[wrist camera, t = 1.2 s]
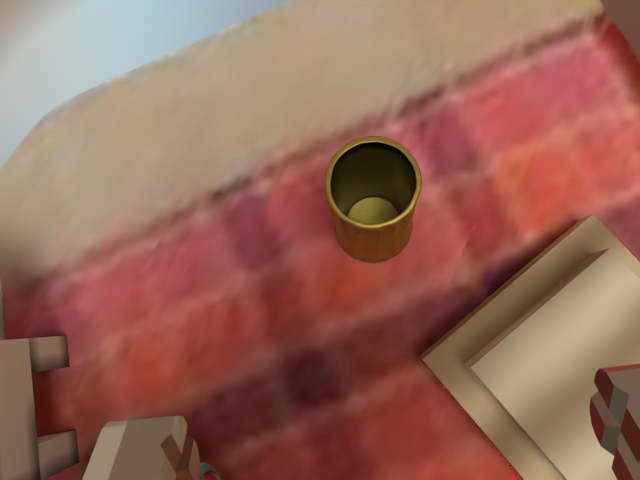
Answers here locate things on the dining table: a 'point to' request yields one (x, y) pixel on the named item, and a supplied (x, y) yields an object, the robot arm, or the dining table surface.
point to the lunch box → (208, 472)
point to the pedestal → (547, 353)
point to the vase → (373, 197)
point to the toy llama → (29, 409)
